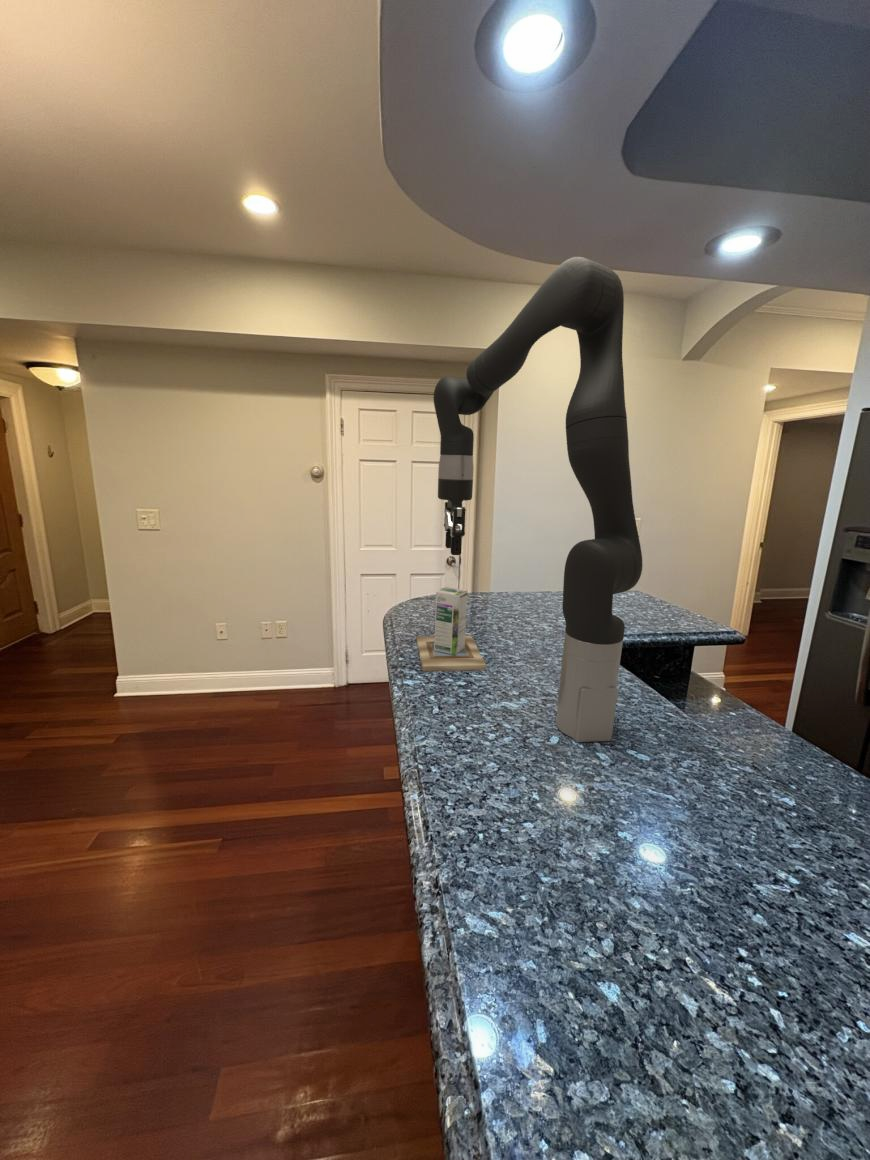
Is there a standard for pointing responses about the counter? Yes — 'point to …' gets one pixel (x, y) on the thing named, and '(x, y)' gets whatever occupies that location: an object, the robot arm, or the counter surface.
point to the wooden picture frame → (449, 656)
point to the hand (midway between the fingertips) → (452, 551)
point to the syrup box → (450, 620)
